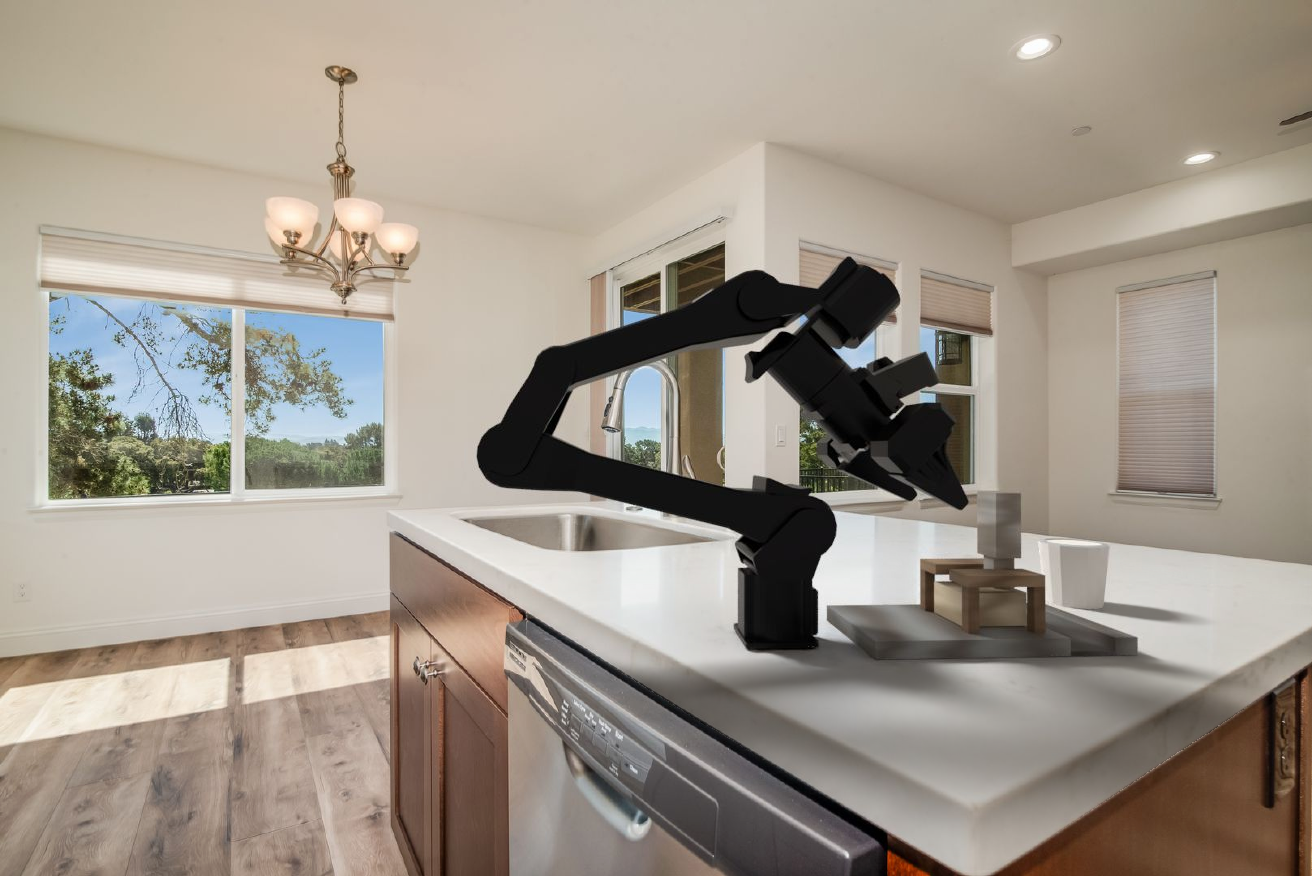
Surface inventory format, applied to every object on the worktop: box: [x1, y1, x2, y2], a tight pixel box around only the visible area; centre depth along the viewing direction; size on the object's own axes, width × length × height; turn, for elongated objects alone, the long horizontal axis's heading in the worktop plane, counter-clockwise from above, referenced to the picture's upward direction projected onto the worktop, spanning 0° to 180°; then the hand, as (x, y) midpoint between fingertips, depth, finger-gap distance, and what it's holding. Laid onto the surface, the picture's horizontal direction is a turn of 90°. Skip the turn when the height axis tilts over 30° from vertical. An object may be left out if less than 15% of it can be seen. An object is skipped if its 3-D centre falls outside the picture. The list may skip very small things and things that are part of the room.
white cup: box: [1037, 537, 1111, 610], centre depth 72 cm, size 7×7×7 cm
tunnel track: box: [826, 557, 1139, 660], centre depth 59 cm, size 23×12×6 cm, turn 94°
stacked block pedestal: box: [934, 490, 1027, 626], centre depth 59 cm, size 6×5×12 cm
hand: (937, 502), depth 59 cm, fingers open, 9 cm apart
